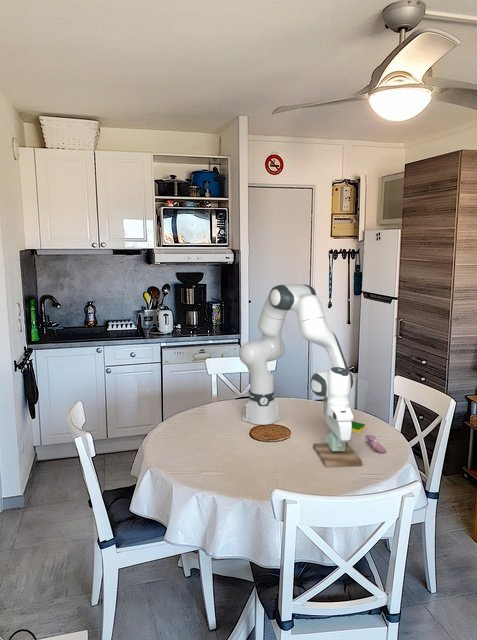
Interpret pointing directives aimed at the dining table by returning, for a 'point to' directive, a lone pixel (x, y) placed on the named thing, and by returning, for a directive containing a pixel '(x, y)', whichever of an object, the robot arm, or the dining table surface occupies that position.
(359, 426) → the dish sponge
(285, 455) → the dining table surface
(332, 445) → the sage cube
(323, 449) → the walnut board
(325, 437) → the chalice
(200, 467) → the dining table surface
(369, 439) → the video game controller
